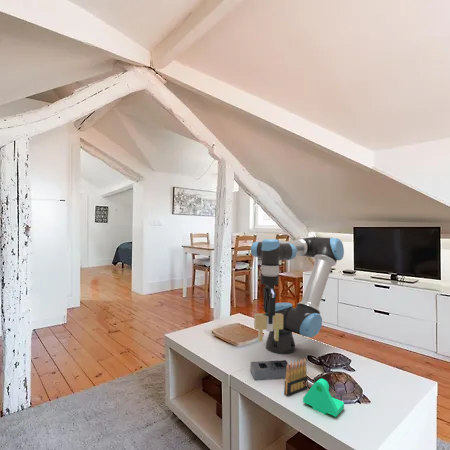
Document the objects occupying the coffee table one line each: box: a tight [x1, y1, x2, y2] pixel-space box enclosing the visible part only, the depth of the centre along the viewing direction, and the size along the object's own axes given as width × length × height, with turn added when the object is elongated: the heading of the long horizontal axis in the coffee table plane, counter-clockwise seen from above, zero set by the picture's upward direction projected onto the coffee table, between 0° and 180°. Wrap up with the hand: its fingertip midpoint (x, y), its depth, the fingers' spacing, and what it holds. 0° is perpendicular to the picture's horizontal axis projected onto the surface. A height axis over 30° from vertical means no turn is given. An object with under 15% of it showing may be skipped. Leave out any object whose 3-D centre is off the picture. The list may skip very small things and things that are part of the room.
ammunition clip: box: [283, 357, 309, 398], centre depth 117 cm, size 11×2×12 cm, turn 122°
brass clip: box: [253, 312, 283, 342], centre depth 131 cm, size 12×3×11 cm, turn 95°
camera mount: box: [302, 378, 345, 418], centre depth 107 cm, size 12×8×10 cm, turn 47°
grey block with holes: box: [250, 359, 290, 381], centre depth 130 cm, size 16×8×4 cm, turn 98°
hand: (268, 329), depth 131 cm, fingers closed on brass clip, 3 cm apart
